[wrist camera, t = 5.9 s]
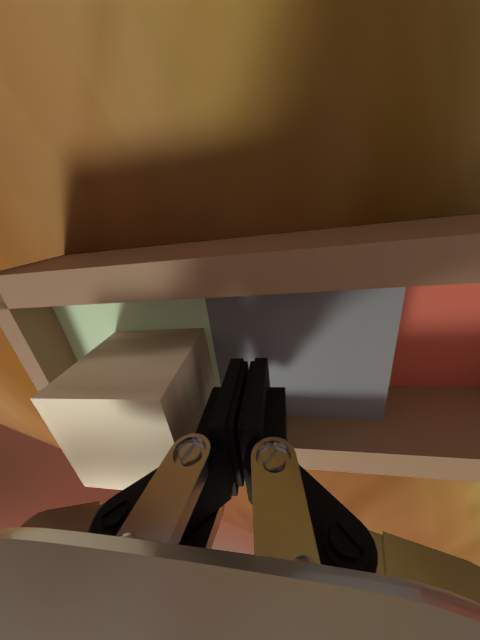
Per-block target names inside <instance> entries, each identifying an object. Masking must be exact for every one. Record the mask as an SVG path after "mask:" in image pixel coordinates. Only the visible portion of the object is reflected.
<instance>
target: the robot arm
mask: <svg viewBox="0 0 480 640" xmlns="http://www.w3.org/2000/svg"><path fill="white" fill-rule="evenodd" d="M244 480H245V481H246V487H247V493H248V498H249V501H250V503H251V504H252V505H253V532H254V555H250V554H243V553H236V552H229V551H222V550H214V549H212V546H213V543H214V540H215V537H216V534H217V531H218V528H219V524H220V521H221V518H222V515H223V512H224V504H225V503H226V502H228V501H229V500H230V499H231V496H237V494H238V488H239V486H242V487H243V485H244ZM0 640H480V567H479V566H477V565H475V564H473V563H472V562H470V561H467V560H464V559H461V558H459V557H456V556H453V555H450V554H447V553H444V552H441V551H438V550H436V549H433V548H430V547H427V546H424V545H421V544H418V543H415V542H413V541H410V540H407V539H404V538H401V537H398V536H395V535H392V534H389V533H387V532H384V531H383V534H382V535H381V534H379V533H376V532H373V531H370V530H368V529H367V528H366V527H365V526H364V525H363V524H362V522H361V521H360V520H358V519H357V518H356V517H355V516H354V515H353V514H352V513H351V512H350V511H349V510H348V509H347V508H345V507H344V506H343V505H342V504H341V503H340V502H339V501H338V500H337V499H336V498H335V497H334V496H333V495H331V494H330V493H329V492H328V491H327V490H326V489H325V488H324V487H323V486H322V485H321V484H320V483H318V482H317V481H316V480H315V479H314V478H313V477H312V476H311V475H310V474H309V473H308V472H307V471H306V470H304V469H303V468H302V467H301V466H300V465H299V464H298V460H297V455H296V452H295V450H294V448H293V446H292V445H291V444H290V443H289V442H288V441H287V410H286V392H285V387H270V378H269V367H268V358H255V361H251V362H250V367H249V366H248V361H244V359H243V358H231V359H230V362H229V365H228V368H227V371H226V374H225V377H224V380H223V383H222V386H221V387H213V389H212V391H211V393H210V396H209V399H208V401H207V404H206V406H205V409H204V412H203V414H202V417H201V419H200V422H199V425H198V427H197V430H196V432H195V433H192V434H188V435H185V436H183V437H181V438H180V439H178V440H177V441H176V442H175V443H174V444H173V445H172V447H171V448H170V450H169V451H168V453H167V455H166V456H165V458H164V459H163V461H162V463H161V464H160V466H159V467H158V468H156V469H155V470H153V471H152V472H150V473H149V474H147V475H146V476H144V477H143V478H141V479H139V480H138V481H136V482H135V483H133V484H132V485H130V486H129V487H127V488H125V489H124V490H122V491H121V492H119V493H118V494H116V495H115V496H113V497H112V498H111V499H109V500H108V501H107V502H105V503H104V504H102V503H101V502H100V501H97V502H91V503H85V504H80V505H73V506H67V507H62V508H56V509H50V510H45V511H42V512H39V513H37V514H36V515H34V516H32V517H31V518H30V519H28V520H27V521H26V522H25V523H24V524H23V525H22V526H21V527H18V528H7V529H1V530H0Z"/></svg>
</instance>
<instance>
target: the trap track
mask: <svg viewBox="0 0 480 640" xmlns="http://www.w3.org/2000/svg"><path fill="white" fill-rule="evenodd" d="M0 327H1V328H2V330H3V332H4V334H5V335H6V337H7V339H8V341H9V342H10V344H11V346H12V347H13V349H14V351H15V353H16V354H17V356H18V358H19V360H20V361H21V363H22V365H23V367H24V368H25V370H26V372H27V373H28V375H29V377H30V379H31V380H32V382H33V384H34V386H35V387H36V389H37V391H38V392H39V391H40V390H42V389H43V388H44V387H46V386H47V385H48V384H49V383H51V382H52V381H53V380H54V379H56V378H57V377H58V376H60V375H61V374H62V373H63V372H65V371H66V370H67V369H69V368H70V367H71V366H72V365H74V364H75V363H76V362H77V361H79V360H80V359H81V358H83V357H84V356H85V355H86V354H88V353H89V352H90V351H91V350H93V349H94V348H95V347H97V346H98V345H99V344H100V343H102V342H103V341H104V340H106V339H107V338H108V337H109V336H111V335H112V334H113V333H114V332H126V331H146V330H167V329H188V328H204V330H205V334H206V339H207V344H208V349H209V353H210V358H211V363H212V367H213V372H214V377H215V382H216V386H217V387H221V386H222V383H223V380H224V377H225V374H226V371H227V368H228V365H229V362H230V359H231V358H243V359H244V361H248V366H249V367H250V362H251V361H255V358H268V367H269V378H270V387H285V392H286V410H287V441H288V442H289V443H290V444H291V445H292V446H293V448H294V450H295V452H296V455H297V460H298V464H299V465H300V466H301V467H302V468H303V469H310V470H324V471H337V472H351V473H364V474H378V475H391V476H404V477H418V478H431V479H445V480H458V481H472V482H480V213H478V214H469V215H459V216H449V217H439V218H429V219H419V220H409V221H399V222H389V223H379V224H369V225H359V226H349V227H339V228H329V229H319V230H309V231H299V232H289V233H279V234H269V235H259V236H249V237H239V238H229V239H219V240H209V241H200V242H190V243H180V244H170V245H160V246H150V247H140V248H130V249H120V250H110V251H100V252H90V253H80V254H70V255H62V256H58V257H54V258H50V259H46V260H42V261H38V262H34V263H30V264H26V265H22V266H18V267H14V268H10V269H6V270H2V271H0Z"/></svg>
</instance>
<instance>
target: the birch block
mask: <svg viewBox="0 0 480 640" xmlns="http://www.w3.org/2000/svg"><path fill="white" fill-rule="evenodd" d="M213 387H217V386H216V382H215V377H214V372H213V367H212V363H211V358H210V353H209V349H208V344H207V339H206V334H205V330H204V328H188V329H167V330H146V331H126V332H114V333H113V334H112V335H111V336H109V337H108V338H107V339H106V340H104V341H103V342H102V343H100V344H99V345H98V346H97V347H95V348H94V349H93V350H91V351H90V352H89V353H88V354H86V355H85V356H84V357H83V358H81V359H80V360H79V361H77V362H76V363H75V364H74V365H72V366H71V367H70V368H69V369H67V370H66V371H65V372H63V373H62V374H61V375H60V376H58V377H57V378H56V379H54V380H53V381H52V382H51V383H49V384H48V385H47V386H46V387H44V388H43V389H42V390H40V391H39V392H38V393H37V394H35V395H34V396H33V397H32V398H30V399H31V400H32V402H33V404H34V405H35V407H36V409H37V410H38V412H39V413H40V415H41V417H42V418H43V420H44V421H45V423H46V425H47V426H48V428H49V430H50V431H51V433H52V434H53V436H54V438H55V439H56V441H57V442H58V444H59V446H60V447H61V449H62V451H63V452H64V454H65V455H66V457H67V458H68V460H69V462H70V463H71V465H72V466H73V468H74V470H75V471H76V473H77V475H78V476H79V478H80V480H81V481H82V483H83V484H84V486H85V487H96V488H106V489H118V490H124V489H125V488H127V487H129V486H130V485H132V484H133V483H135V482H136V481H138V480H139V479H141V478H143V477H144V476H146V475H147V474H149V473H150V472H152V471H153V470H155V469H156V468H158V467H159V466H160V464H161V463H162V461H163V459H164V458H165V456H166V455H167V453H168V451H169V450H170V448H171V447H172V445H173V444H174V443H175V442H176V441H177V440H178V439H180V438H181V437H183V436H185V435H188V434H192V433H195V432H196V430H197V427H198V425H199V422H200V419H201V417H202V414H203V412H204V409H205V406H206V404H207V401H208V399H209V396H210V393H211V391H212V389H213Z"/></svg>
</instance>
